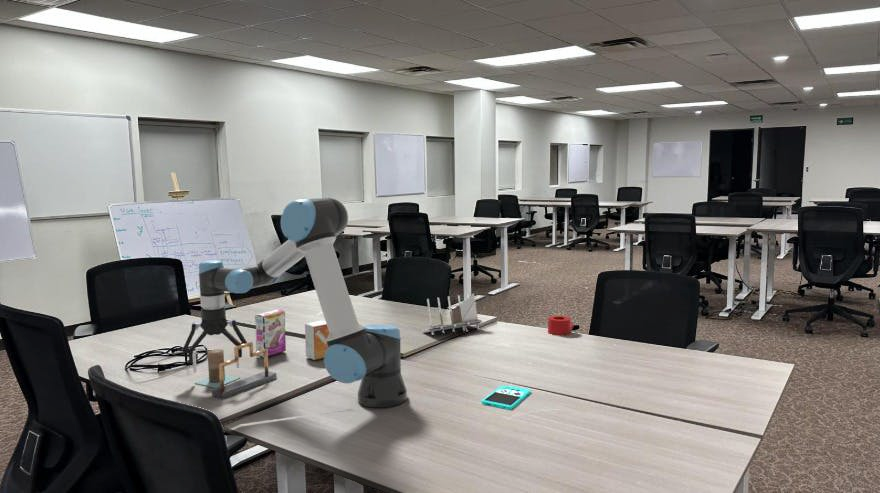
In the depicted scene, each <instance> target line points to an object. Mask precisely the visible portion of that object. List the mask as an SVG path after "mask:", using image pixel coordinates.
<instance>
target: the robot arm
mask: <svg viewBox="0 0 880 493" xmlns="http://www.w3.org/2000/svg"><path fill="white" fill-rule="evenodd" d="M282 211H283V212H282V213H281V217H280V228H281V231H282V234H283V235H284V237H285V238H287V240H286V241H285V242H283V243H282V244H281V245H280V246H278V247H277V248H276V249H275V250H273V251H272V252H271V253H269V254H268V255H267V256H266V257H265V258H264V259H262V260H261V261H259V262H258V263H257V264H252V265H247V266H240V267H236V268H225V267H224V263H223V261H222V260H217V259H216V260H215V259H214V260H212V259H211V260H210V259H209V260H204V261H201V262H199V264H198V279H199V281H198V282H199V292H200V293H199V295H200V297H199V298H200V299H199V300H200V307H201V309H200V310H201V312H200V314H201V322H196V321H193V322H192V324H191V328H190V329H191V330H190V332H189V334H188V336H187V338H186V341H185V344H184V345H183V347H182V352H183V353H188V361H189V364H190V363H192V368H193V374H194V373H197V369H198V368H197V355H196V350H195V349H196V348H197V347H198V346H199V345H200V343H201V342H202V341H203V340H204V338H206V336H207V335H208V336H214V335H216V336H218V335H221V334H222V335H223V336H225V337H226V338H227V339H228V340H229V341H230V342H231V343H232V344H233V345H234V347H235V346H239V345H242V344H245V343H248V341H247V340H246V338H245V336H244V335H243V333H242V332H241V330H240V328H239V326H238V325H237V320H236V318H232V319H231V320H227V317H226V314H227V313H226V306H225V305H226V299H225V297H226V296H225V295H226V294H225V292H227V293H232V294H245V293H247V292H249V291H250V290H251V289H254V288H259V287H263V286H270V285H273V284H276V283H277V282H279V281H280V279H281V276H282V274H284V273H285V272H286V271H287V270H289V269H290V268H292V267H293V266H294V265H296V264H297V263H298V262H299V261H301V260H302V259H303V258H305V261H306V263H307V267H308V270H309V273H310V277H311V279H312V282H313V286H314V290H315V293H316V295H317V298H318V303H319V305H320V308H321V311H322V314H323V318H324V321H326V324H327V327H328V330H329V336H328V338H327V340H326V342H327V345H328V349H327V351H326V352H325V356H324V358H323V363H324V367H325V370H326V371H327V373H328V374H329V375H330V377H331V378H332V379H334V380H335V381H337V382H338V383H341V384H352V383H354V382H357V381H358V382H359V381H360V385H359V387H358V389H357V390H358V391H357V400H358V403H359V404H361V406H365V407H369V408H390V407H391V408H392V407H395V406H398V405H401V404H402V403H405V402H406V400H407V399H408V391H407V387H406V384H405V382H404V378H403V376H402V368H401V363H402V362H401V361H402V360H401V359H402V358H401V356H402V355H401V340H402V339H401V331H400V329H399V327H397V326H395V325H391V324H380V323H379V324H378V323H377V324H376V323H375V324H372V323H371V324H370V323H369V324H364V325H361V324H360V323H359V322H358V319H357V315H356V313H355V309H354V306H353V303H352V300H351V296H350V293H349V291H348V288H347V285H346V281H345V279H344V276H343V272H342V269H341V265H340V263H339V262H340V261H339V260H338V257H337V253H336V250H335V247H334V244H335V241H336V239H337V237H338V236H339V235H341V233H343V232H344V230H345V229H346V227H347V225H348V221H349V215H348V214H349V213H348V211H347V208H346V207H345V205H344V204H343V203H342V202H340V201H339V199H336V198H332V197H320V198H319V197H318V198H317V197H316V198H305V197H304V198H300V199H294V200H292V201H290V202H289V203H288V204H286V206H285V207H284V208H283V210H282ZM228 325H229V326H230V327H232V329H233V331H234V333H235V334H236V335H237V337H238V339H239V340H240V341H239V340H238V339H237V338H236V337H235V336H234V335H232V334H231V332H229V330H228V329H226V327H227V326H228ZM199 328H201V329H202V330H203V331H202V332H201V333H200V335H199V336H198V337H197V338H196V340H195V341H194V342H193V344H191V342H192V340H193V338H194V335H195V332H196V331H197V330H199ZM190 344H191V346H190ZM189 346H190V347H189ZM238 356H239V359H240V358H242V357H243V348H242V349H238ZM235 364H236V369H239V368H240V360H239V361H238V362H236V363H235Z"/></svg>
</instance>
